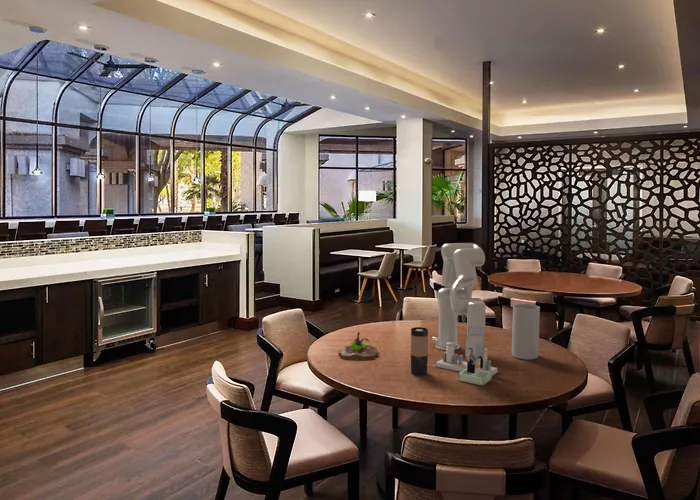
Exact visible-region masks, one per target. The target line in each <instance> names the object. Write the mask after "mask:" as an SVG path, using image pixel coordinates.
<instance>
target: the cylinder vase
mask: <svg viewBox="0 0 700 500" xmlns="http://www.w3.org/2000/svg"><path fill="white" fill-rule="evenodd" d="M540 311H541V307H540V305H539V306H538V305H535V304H526V303H517V304H514V305H512V327H511V328H512V332H511V334H512V335H511V336H512V337H511V355H512V357H514V358H516V359H519V360H525V361H526V360H527V361H530V360H535V359H538V357H539V344H540V343H539V342H540V315H541V313H540Z"/></svg>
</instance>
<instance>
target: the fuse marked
mask: <svg viewBox="0 0 700 500" xmlns="http://www.w3.org/2000/svg"><path fill="white" fill-rule="evenodd" d="M472 360H473V359H472ZM480 361H481V358H479V357H477V358H475V362H474V364H475V373H474V374H473V373H471V376H475V377H480Z"/></svg>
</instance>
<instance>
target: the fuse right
mask: <svg viewBox="0 0 700 500" xmlns="http://www.w3.org/2000/svg"><path fill="white" fill-rule="evenodd" d="M488 351H489V350H488V347H484V354H483V356H484V358H483V368H480V369H481V370H486V369H487V361H488Z"/></svg>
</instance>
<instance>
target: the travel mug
mask: <svg viewBox="0 0 700 500" xmlns="http://www.w3.org/2000/svg"><path fill="white" fill-rule="evenodd" d="M428 360H429V330H428V328H426V327H422V326H421V327H420V326H419V327H418V326H417V327H412V328H410V373H411V374H412V375H413V374H414V376H426V375H427V374H428Z"/></svg>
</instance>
